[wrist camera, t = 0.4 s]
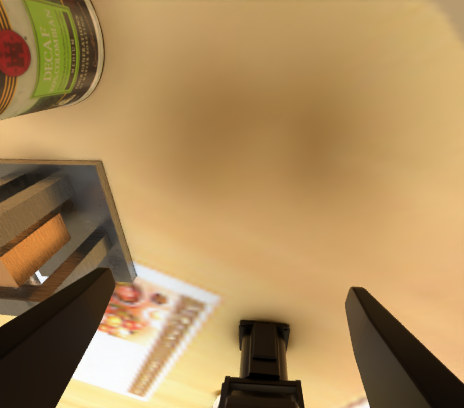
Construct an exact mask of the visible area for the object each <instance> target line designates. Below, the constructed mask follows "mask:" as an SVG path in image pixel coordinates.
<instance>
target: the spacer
mask: <svg viewBox="0 0 464 408" xmlns="http://www.w3.org/2000/svg"><path fill="white" fill-rule="evenodd" d="M69 240H71V237H70V234H69V232H68V230H67V228H66V225H65V223H64V221H63V219H62V216H61V214H60V213H57V212H49V213H48V214H47V215H45V216H44V217H43V218H41V219H40V220H38V221H37V222H36V223H34V224H33V225H31V226H30V227H29V228H27V229H26V230H24V231H23V232H22V233H20V234H19V235H18V236H16V237H15V238H13V239H12V240H11V241H9V242H8V243H6V244H5V245H4V246H2V247H1V248H0V286H5V287H17V288H19V287H20V286H21V285H22V284H24V283H25V282H26V281H27V280H28V279H29V278H30V277H31V276H32V275H33V274H34V273H35V272H36V271H37V270H38V269H40V268H41V267H42V266H43V265H44V264H45V263H46V262H47V261H48V260H49V259H50V258H51V257H52V256H53V255H55V254H56V253H57V252H58V251H59V250H60V249H61V248H62V247H63V246H64V245H65V244H66V243H67V242H68V241H69Z"/></svg>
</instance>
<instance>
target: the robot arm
mask: <svg viewBox="0 0 464 408" xmlns="http://www.w3.org/2000/svg"><path fill="white" fill-rule="evenodd" d="M114 289H115V280H114V277H113V274H112V271H111V269H110V268H109V267H98V268H96V269H94V270H93V271H91V272H89V273H88V274H86V275H84V276H83V277H81V278H80V279H78V280H76V281H75V282H73V283H71V284H70V285H68V286H66V287H65V288H63V289H62V290H60V291H58V292H57V293H55V294H53V295H52V296H50V297H48V298H47V299H45V300H43V301H42V302H40V303H39V304H37V305H35V306H34V307H32V308H30V309H29V310H27V311H25V312H24V313H22V314H21V315H19V316H17V317H16V318H14V319H12V320H11V321H9V322H7V323H6V324H4V325H2V326H1V327H0V408H55V407H56V406H57V404H58V402H59V400H60V398H61V396H62V394H63V393H64V391H65V389H66V387H67V385H68V383H69V381H70V379H71V378H72V376H73V374H74V372H75V370H76V368H77V366H78V364H79V363H80V361H81V359H82V357H83V355H84V353H85V351H86V349H87V348H88V346H89V344H90V342H91V340H92V338H93V336H94V334H95V333H96V331H97V329H98V327H99V325H100V322H101V320H102V318H103V315H104V313H105V311H106V308H107V306H108V303H109V301H110V298H111V296H112V294H113V291H114ZM345 309H346V315H347V320H348V325H349V331H350V336H351V341H352V346H353V351H354V355H355V359H356V362H357V366H358V369H359V372H360V376H361V379H362V382H363V385H364V389H365V392H366V395H367V399H368V402H369V405H370V408H464V383H463V382H461V381H460V380H459V379H458V378H457V377H456V376H455V375H454V374H453V373H452V372H451V371H450V370H449V369H448V368H447V367H446V366H445V365H444V364H443V363H442V362H441V361H440V360H439V359H438V358H436V357H435V356H434V355H433V354H432V353H431V352H430V351H429V350H428V349H427V348H426V347H425V346H424V345H423V344H422V343H421V342H420V341H419V340H418V339H417V338H416V337H415V336H414V335H413V334H411V333H410V332H409V331H408V330H407V329H406V328H405V327H404V326H403V325H402V324H401V323H400V322H399V321H398V320H397V319H396V318H395V317H394V316H393V315H392V314H391V313H390V312H389V311H388V310H387V309H385V308H384V307H383V306H382V305H381V304H380V303H379V302H378V301H377V300H376V299H375V298H374V297H373V296H372V295H371V294H370V293H369V292H368V291H367V290H366V289H364V288H362V287H351V288H350V289H349V292H348V295H347V298H346V302H345ZM289 332H290V327H289V325H286V324H276V323H264V322H252V321H240V323H239V342H240V351H241V363H240V376H239V378H238V377H230V376H226V377H225V382H224V383H222V389H221V396H220V401H219V405H218V408H304V401H303V394H302V387H301V380H296V381H288V376H287V363H286V351H287V344H288V338H289Z"/></svg>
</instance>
